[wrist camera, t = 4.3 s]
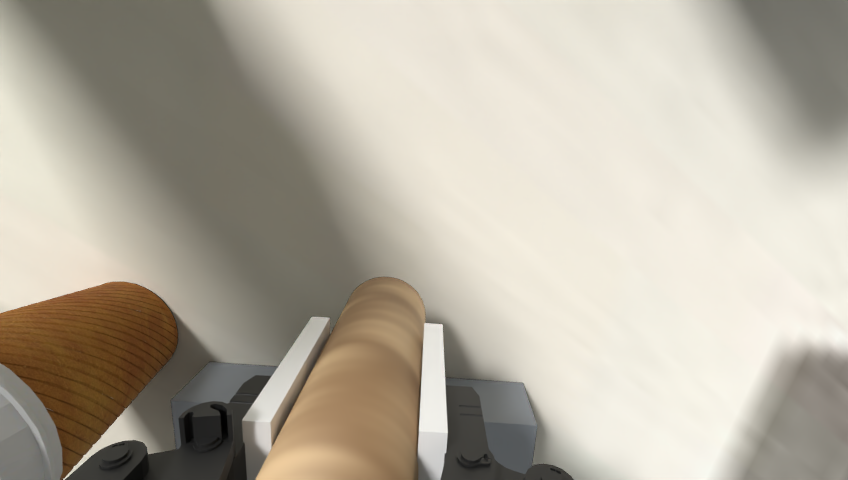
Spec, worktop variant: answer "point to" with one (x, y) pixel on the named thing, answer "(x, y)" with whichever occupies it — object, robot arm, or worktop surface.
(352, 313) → the oak peg
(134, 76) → the worktop surface
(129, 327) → the disposable coffee cup
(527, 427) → the socket block
